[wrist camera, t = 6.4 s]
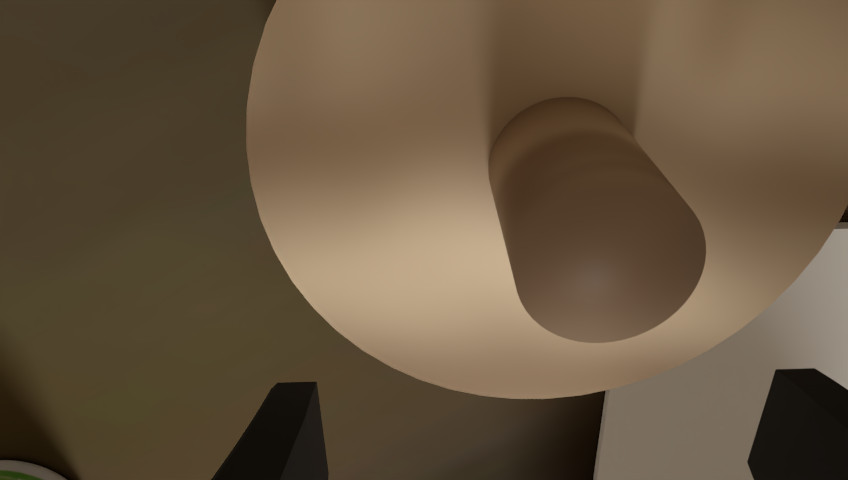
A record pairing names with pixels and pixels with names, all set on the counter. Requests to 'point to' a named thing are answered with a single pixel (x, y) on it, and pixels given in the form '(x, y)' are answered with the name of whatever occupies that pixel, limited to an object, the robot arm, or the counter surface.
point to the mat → (728, 384)
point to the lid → (547, 177)
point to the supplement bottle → (25, 471)
